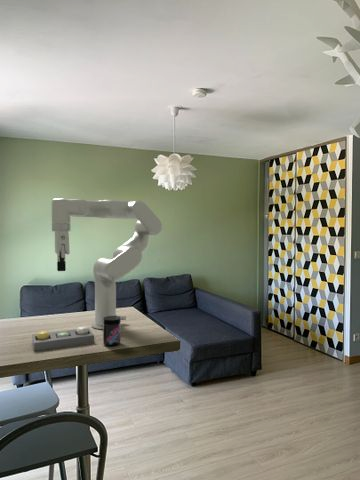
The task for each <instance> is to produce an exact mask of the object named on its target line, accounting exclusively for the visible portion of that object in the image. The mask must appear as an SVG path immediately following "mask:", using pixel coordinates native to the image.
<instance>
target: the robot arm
mask: <svg viewBox="0 0 360 480" xmlns="http://www.w3.org/2000/svg"><path fill="white" fill-rule="evenodd" d="M71 217H72V218H73V217H74V218H78V217H79V218H100V219H123V220H126V219H127V220H133V219H135V220H136V219H137V221H136V222H135V223H134V224H135V225H134V234H133V236H132V237H130V239H128V240H127V241H125V242H124V243H123V244H121V245H120V246H118V247H117V248H115V250H114V252H113V254H112V258H110V257H100V258H98V259H97V260H96V261H95V262H94V264H93V268H92V269H93V270H92V271H93V279H94V321H93V322H92V323H91V327H92V328H93V329H98V330H103V318H104V317H106V316H119V317H121V321H126V320H127V316H126V315H117V307H116V306H117V284H116V281H119V280H120V279H122V278H124V277H125V276H127V274H129V273H130V272H131V271H134V269H135V268H136V267H138V266H139V265H140V263H141V262H142V260H143V259H142V258H143V253H142V252H143V251H145V249H147V247H148V243H149V237H150V236H157V235H158V234H160V233H161V232H162V229H163V222H162V221H161V219H160V218H159V217H158V216H157V215H156V214H155V213H154V211H153V210H152V209H151V208H150V206H148V205H147V204H146V203H145V202H144V201H142V200H118V199H116V200H115V199H102V200H86V199H84V198H76V199H75V198H73V199H68V198H53V199H52V200H51V232H54V253H55V254H57V255H56V256H57V259H56V260H57V263H56V264H57V265H56V266H57V267H56V270H57V271H58V272H65V271H66V269H67V268H66V263H67V262H66V255H70V251H71V250H70V234H69V232H71Z"/></svg>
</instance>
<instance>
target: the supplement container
mask: <svg viewBox="0 0 360 480" xmlns="http://www.w3.org/2000/svg"><path fill="white" fill-rule="evenodd" d="M119 316H120V315H117V316H106V317H104V318H103V329H102V330H103V331H102V332H103V334H102V335H103V336H102V340H103V341H102V342H103V345H104V346H105V347H112V348H114V347H117V346H119V345H120V344H121V321H122V320H121V317H119Z"/></svg>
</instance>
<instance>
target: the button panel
mask: <svg viewBox="0 0 360 480" xmlns="http://www.w3.org/2000/svg"><path fill="white" fill-rule="evenodd" d="M48 332H49V331H48ZM62 332H67V333H69V336H67V337H59V338H57V334H58V333H62ZM31 339H32V346H33V347H32V348H33V351H34V352H36V351H44V350H51V349H58V348H65V347H73V346H80V345H86V344H87V345H88V344H94V343H95V334H94V333H93V332H92V331H91V329H90V328H89V327H88V334H83V335H77V328H76V329H67V330H60V331H50V332H49V339H43V340H37V333H34V334H32V338H31Z"/></svg>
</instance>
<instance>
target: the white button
mask: <svg viewBox="0 0 360 480" xmlns="http://www.w3.org/2000/svg"><path fill="white" fill-rule="evenodd" d="M88 328H89V327H88V326H78V327H76V329H77V335H83V334H88Z"/></svg>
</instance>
